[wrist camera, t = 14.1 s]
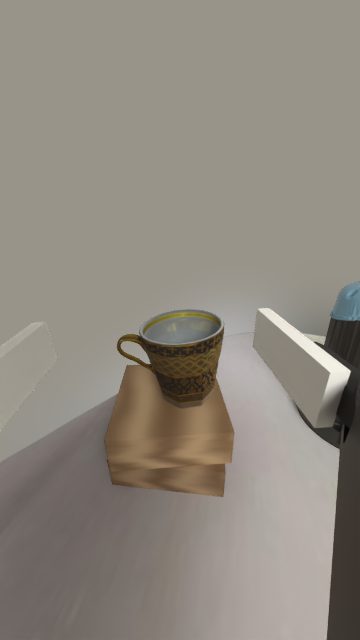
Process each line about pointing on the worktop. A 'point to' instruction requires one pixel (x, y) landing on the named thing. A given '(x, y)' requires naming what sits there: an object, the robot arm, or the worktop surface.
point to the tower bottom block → (175, 479)
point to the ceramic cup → (181, 353)
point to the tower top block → (165, 427)
